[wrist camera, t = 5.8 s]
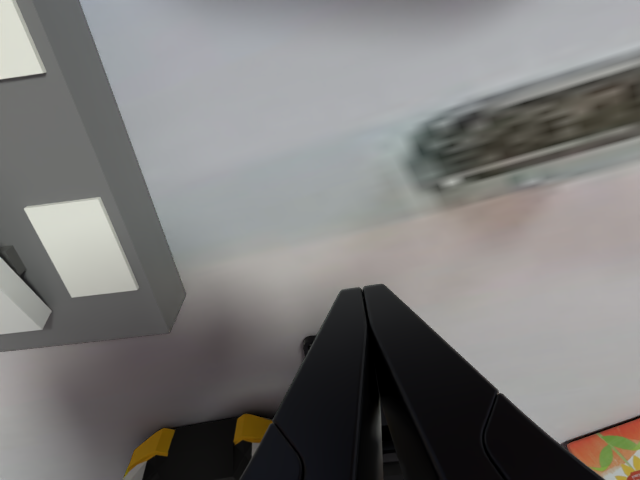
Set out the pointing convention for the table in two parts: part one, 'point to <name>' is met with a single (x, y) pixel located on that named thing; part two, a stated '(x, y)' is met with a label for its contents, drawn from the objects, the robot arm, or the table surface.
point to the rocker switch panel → (74, 188)
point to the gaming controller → (199, 451)
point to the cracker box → (611, 451)
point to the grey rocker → (19, 304)
